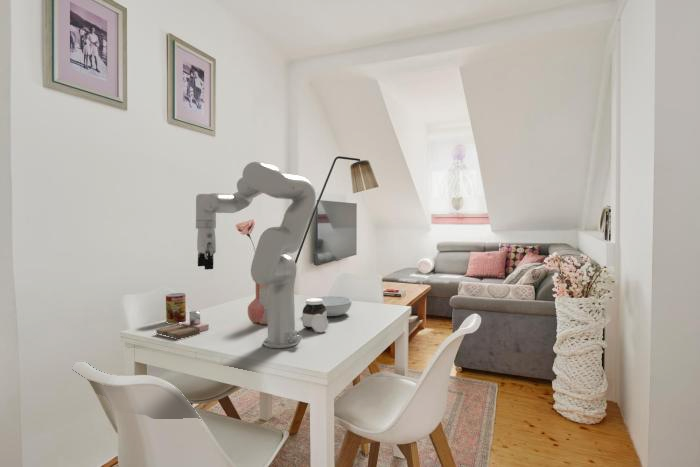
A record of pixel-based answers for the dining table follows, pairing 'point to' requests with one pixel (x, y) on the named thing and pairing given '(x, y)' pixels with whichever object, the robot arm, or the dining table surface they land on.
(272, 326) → the robot arm
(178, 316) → the canned food
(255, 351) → the dining table surface
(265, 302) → the cracker box
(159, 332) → the brown flat block
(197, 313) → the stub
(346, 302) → the serving bowl
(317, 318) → the spread jar
